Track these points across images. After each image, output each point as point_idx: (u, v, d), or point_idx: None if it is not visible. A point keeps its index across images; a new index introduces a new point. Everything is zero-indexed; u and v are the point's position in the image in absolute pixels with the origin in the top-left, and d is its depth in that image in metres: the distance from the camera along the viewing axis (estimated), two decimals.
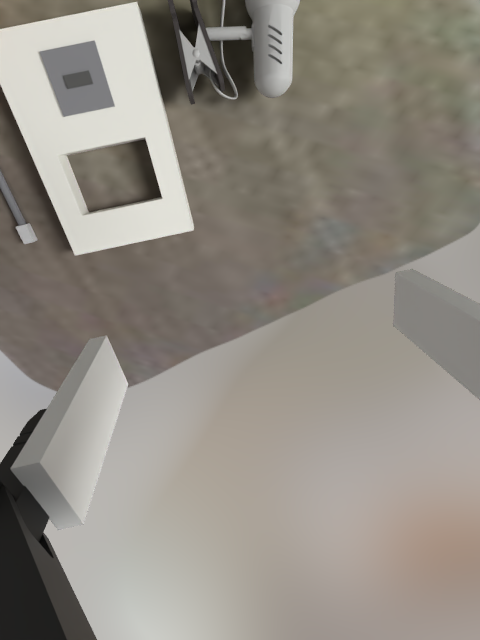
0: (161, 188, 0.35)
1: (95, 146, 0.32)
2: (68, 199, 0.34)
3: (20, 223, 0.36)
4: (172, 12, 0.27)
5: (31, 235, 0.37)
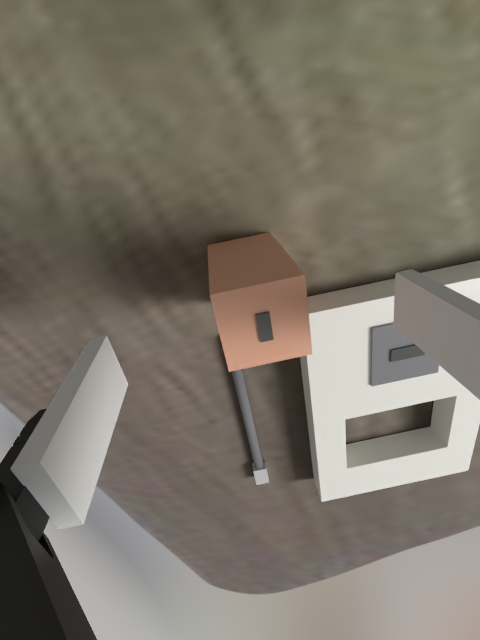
0: (451, 438, 0.27)
1: (393, 408, 0.25)
2: (338, 456, 0.27)
3: (259, 467, 0.29)
4: None
5: (267, 476, 0.30)
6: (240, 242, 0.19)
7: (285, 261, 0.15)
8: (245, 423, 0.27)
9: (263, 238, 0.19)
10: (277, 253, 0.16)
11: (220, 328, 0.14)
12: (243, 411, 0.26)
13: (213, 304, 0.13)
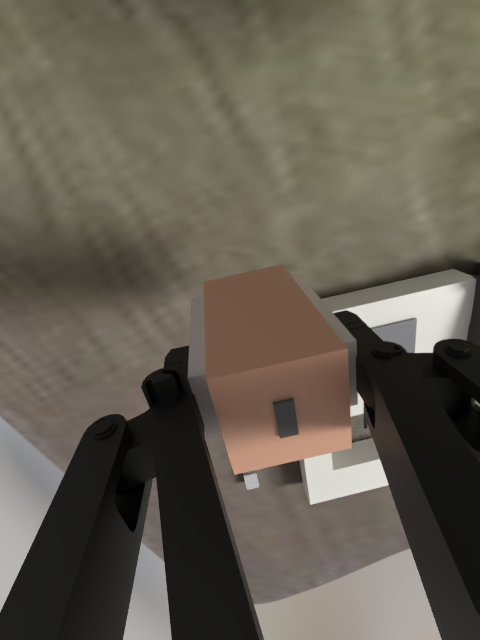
0: None
1: None
2: (324, 458, 0.28)
3: (249, 472, 0.30)
4: None
5: (257, 481, 0.31)
6: (246, 279, 0.15)
7: (312, 318, 0.11)
8: None
9: (275, 274, 0.15)
10: (298, 301, 0.12)
11: (222, 422, 0.10)
12: None
13: (211, 392, 0.09)
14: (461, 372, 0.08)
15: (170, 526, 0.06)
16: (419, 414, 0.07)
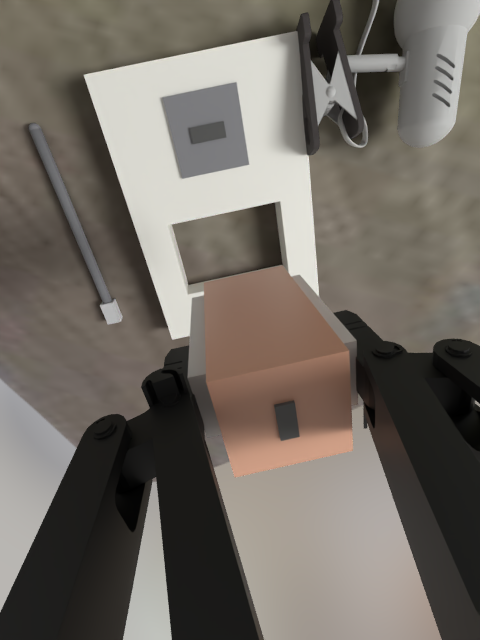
0: (289, 261, 0.27)
1: (216, 213, 0.25)
2: (173, 276, 0.27)
3: (106, 301, 0.29)
4: (307, 36, 0.19)
5: (117, 314, 0.29)
6: (246, 280, 0.15)
7: (313, 320, 0.11)
8: (77, 240, 0.26)
9: (276, 275, 0.15)
10: (299, 302, 0.12)
11: (222, 425, 0.09)
12: (70, 223, 0.26)
13: (212, 394, 0.09)
14: (461, 372, 0.08)
15: (170, 526, 0.06)
16: (419, 414, 0.07)
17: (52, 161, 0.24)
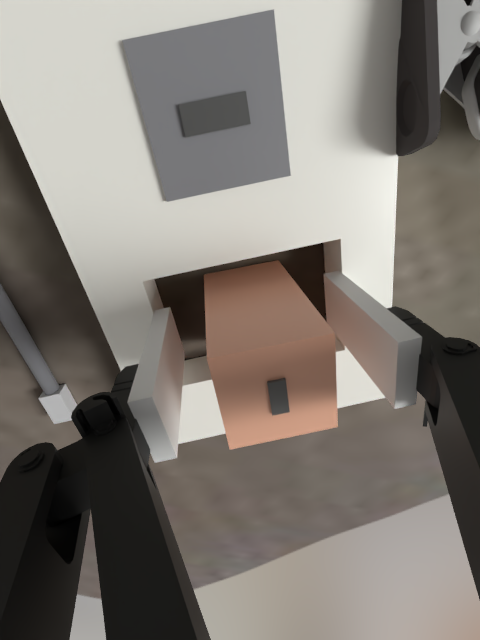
0: None
1: (228, 260, 0.14)
2: None
3: (48, 391, 0.18)
4: None
5: (69, 409, 0.19)
6: (243, 273, 0.16)
7: (304, 307, 0.12)
8: None
9: (271, 269, 0.16)
10: (292, 292, 0.13)
11: (220, 399, 0.10)
12: None
13: (211, 370, 0.10)
14: None
15: (108, 564, 0.06)
16: None
17: None
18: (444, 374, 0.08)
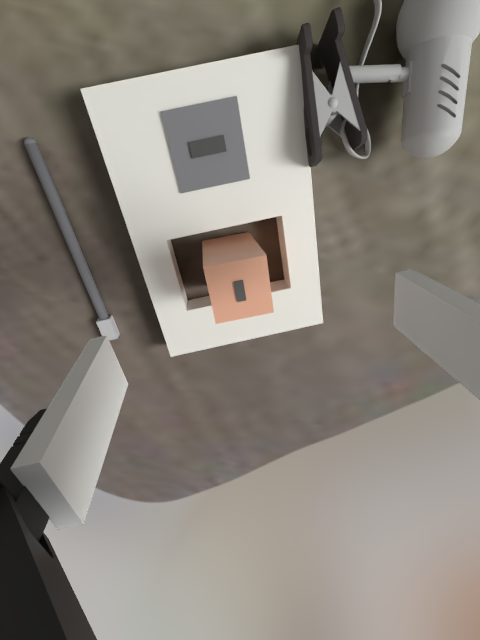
0: (291, 276, 0.27)
1: (216, 228, 0.24)
2: (172, 292, 0.26)
3: (102, 317, 0.28)
4: (308, 47, 0.19)
5: (114, 330, 0.29)
6: (226, 238, 0.26)
7: (255, 248, 0.22)
8: None
9: (243, 235, 0.26)
10: (251, 243, 0.23)
11: (210, 291, 0.20)
12: (66, 239, 0.25)
13: (205, 273, 0.20)
14: None
15: None
16: None
17: (48, 176, 0.23)
18: None
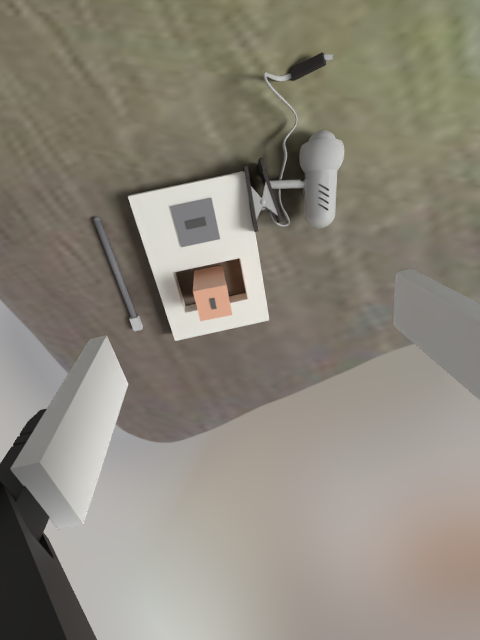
0: (247, 292, 0.44)
1: (201, 265, 0.42)
2: (176, 302, 0.44)
3: (133, 316, 0.46)
4: (247, 176, 0.36)
5: (140, 324, 0.46)
6: (208, 269, 0.44)
7: (222, 279, 0.39)
8: (117, 280, 0.43)
9: (218, 268, 0.44)
10: (221, 275, 0.41)
11: (196, 303, 0.38)
12: (113, 271, 0.43)
13: (194, 294, 0.38)
14: None
15: None
16: None
17: (105, 236, 0.41)
18: None
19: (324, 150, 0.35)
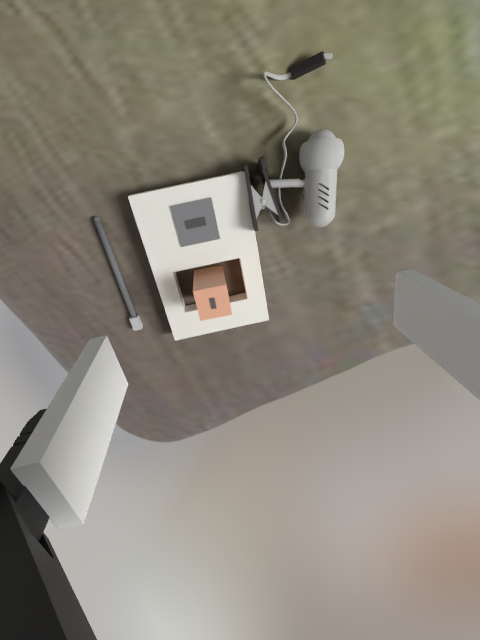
0: (247, 291, 0.44)
1: (201, 265, 0.42)
2: (176, 301, 0.44)
3: (133, 316, 0.46)
4: (247, 176, 0.36)
5: (140, 324, 0.46)
6: (208, 269, 0.44)
7: (222, 279, 0.39)
8: (117, 280, 0.43)
9: (218, 268, 0.44)
10: (221, 275, 0.41)
11: (196, 303, 0.38)
12: (113, 270, 0.43)
13: (194, 294, 0.38)
14: None
15: None
16: None
17: (105, 236, 0.41)
18: None
19: (324, 149, 0.35)
